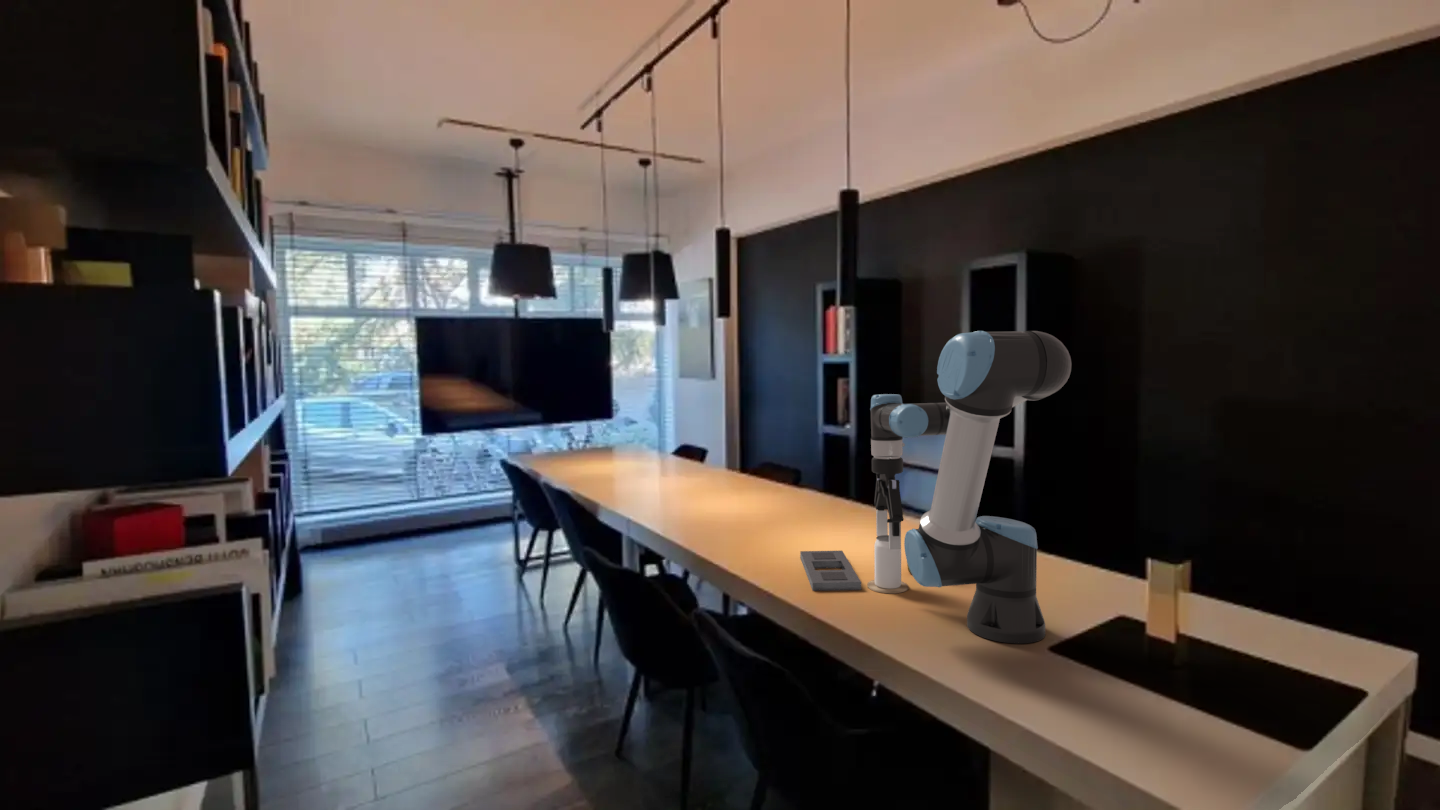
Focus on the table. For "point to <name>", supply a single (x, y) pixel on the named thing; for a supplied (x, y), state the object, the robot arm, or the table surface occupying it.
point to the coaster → (901, 589)
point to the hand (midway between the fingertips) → (888, 542)
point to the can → (887, 564)
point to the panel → (829, 571)
